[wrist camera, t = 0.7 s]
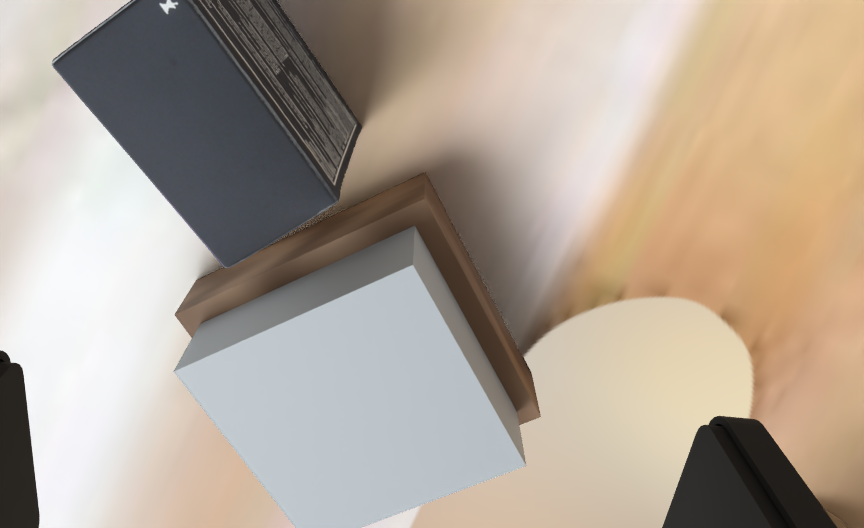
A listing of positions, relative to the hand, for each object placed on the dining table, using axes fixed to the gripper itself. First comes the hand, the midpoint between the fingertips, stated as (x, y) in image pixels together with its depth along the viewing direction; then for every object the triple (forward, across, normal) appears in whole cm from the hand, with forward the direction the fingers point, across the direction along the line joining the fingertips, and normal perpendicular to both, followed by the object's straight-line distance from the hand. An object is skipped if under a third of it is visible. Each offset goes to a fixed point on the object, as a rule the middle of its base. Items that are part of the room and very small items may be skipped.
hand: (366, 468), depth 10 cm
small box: (+31, +7, +1) cm, 31 cm away
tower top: (+26, 0, +16) cm, 31 cm away
